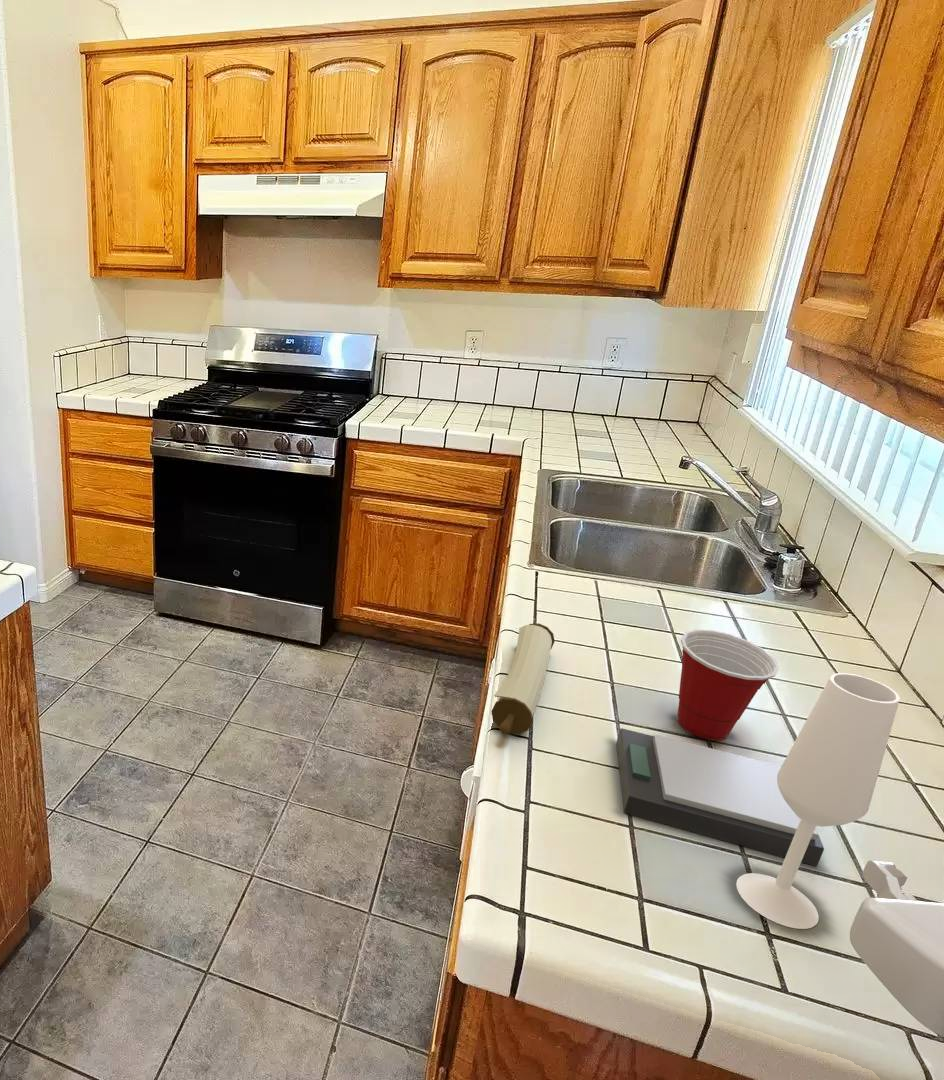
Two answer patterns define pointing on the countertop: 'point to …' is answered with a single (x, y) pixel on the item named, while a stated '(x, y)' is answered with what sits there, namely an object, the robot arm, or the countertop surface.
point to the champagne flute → (825, 784)
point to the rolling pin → (523, 680)
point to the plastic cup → (719, 681)
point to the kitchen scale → (708, 793)
